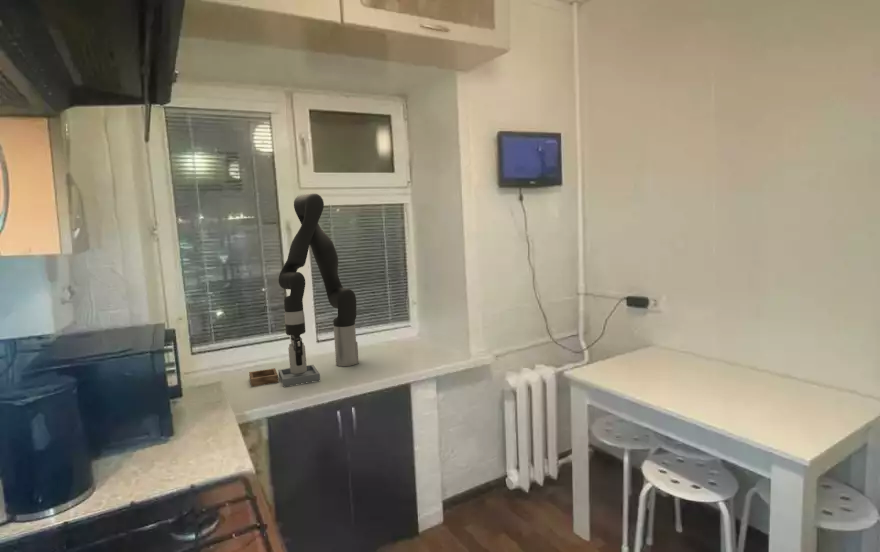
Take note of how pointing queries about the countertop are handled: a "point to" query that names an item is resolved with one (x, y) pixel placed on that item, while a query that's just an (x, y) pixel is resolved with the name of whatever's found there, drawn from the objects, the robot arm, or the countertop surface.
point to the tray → (298, 376)
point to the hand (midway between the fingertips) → (298, 363)
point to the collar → (263, 377)
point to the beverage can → (292, 358)
